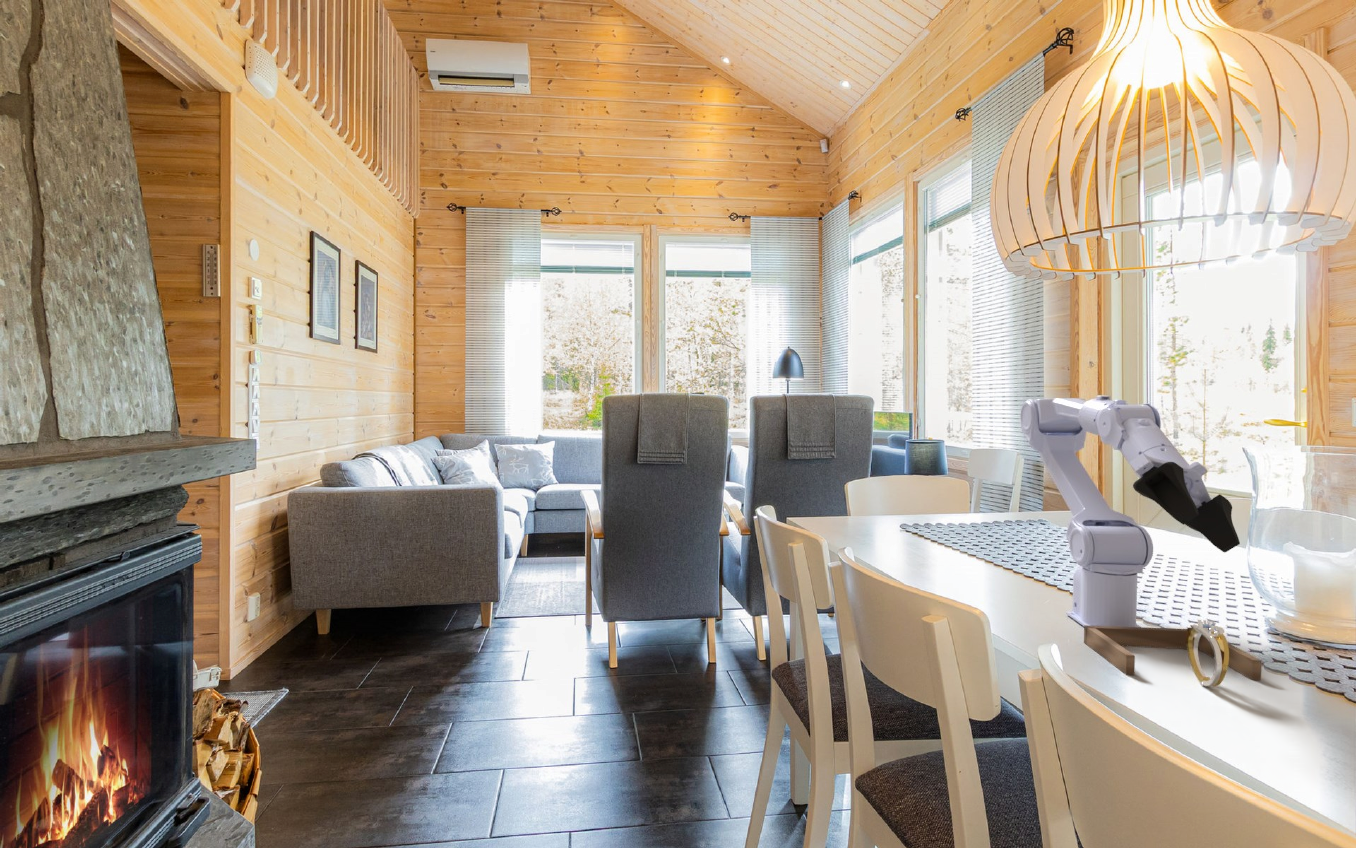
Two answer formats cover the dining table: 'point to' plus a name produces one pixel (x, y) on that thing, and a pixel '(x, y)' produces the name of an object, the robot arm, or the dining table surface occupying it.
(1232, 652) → the brown u-shaped frame
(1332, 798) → the dining table surface
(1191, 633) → the ring
